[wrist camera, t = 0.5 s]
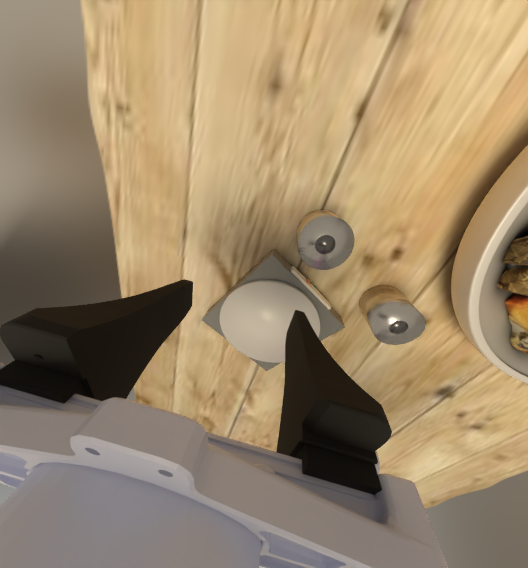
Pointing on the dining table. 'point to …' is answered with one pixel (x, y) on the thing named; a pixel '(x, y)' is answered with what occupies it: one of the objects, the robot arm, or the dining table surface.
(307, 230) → the cylinder
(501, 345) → the bowl
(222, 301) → the kitchen scale
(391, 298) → the far steel spacer
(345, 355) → the dining table surface
